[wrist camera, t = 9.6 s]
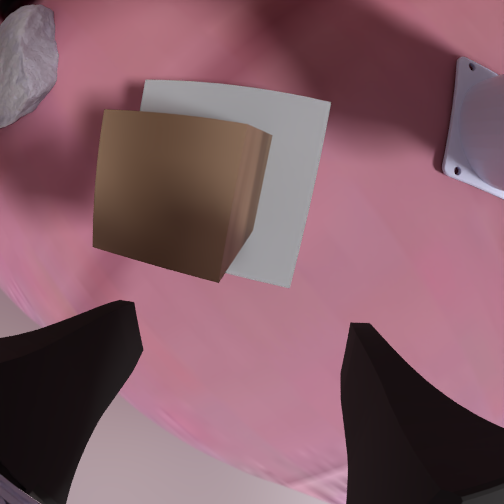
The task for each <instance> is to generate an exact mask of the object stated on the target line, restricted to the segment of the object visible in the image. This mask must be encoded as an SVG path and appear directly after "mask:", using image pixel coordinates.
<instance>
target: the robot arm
mask: <svg viewBox="0 0 504 504" xmlns="http://www.w3.org/2000/svg"><path fill="white" fill-rule="evenodd" d="M469 65H471V66H472V68H473V71H472V70H471V69H470V68H469ZM455 167H457V168H458V174H455V173H454V169H455ZM442 171H443V173H444V174H445V175H446V176H449V177H451V178H454V179H457V180H459V181H462V182H464V183H467V184H469V185H471V186H474V187H476V188H479V189H481V190H483V191H486V192H488V193H490V194H492V195H495V196H497V197H499V198H501V199H503V200H504V74H502V75H498V74H496V73H494V72H493V71H491V70H489V69H487V68H486V67H484V66H482V65H480V64H478V63H476V62H474V61H472V60H470V59H468V58H466V57H460V58H458V59H457V66H456V78H455V89H454V97H453V105H452V113H451V119H450V126H449V132H448V138H447V143H446V149H445V154H444V159H443V163H442ZM142 352H143V346H142V341H141V336H140V331H139V326H138V321H137V316H136V310H135V304H134V302H130V301H123V300H118V301H114V302H111V303H108V304H105V305H102V306H99V307H97V308H94V309H92V310H89V311H87V312H84V313H81V314H79V315H76V316H74V317H71V318H69V319H66V320H63V321H61V322H58V323H55V324H52V325H50V326H47V327H44V328H41V329H38V330H34V331H31V332H27V333H23V334H19V335H15V336H9V337H4V338H0V504H40V503H41V504H66V501H67V497H68V494H69V490H70V486H71V483H72V480H73V477H74V474H75V471H76V469H77V466H78V463H79V461H80V459H81V456H82V454H83V452H84V449H85V447H86V445H87V442H88V441H89V438H90V437H91V434H92V433H93V430H94V428H95V427H96V425H97V423H98V421H99V419H100V418H101V416H102V415H103V413H104V412H105V410H106V409H107V408H108V406H109V405H110V403H111V402H112V400H113V399H114V398H115V396H116V395H117V393H118V392H119V391H120V389H121V388H122V386H123V385H124V383H125V382H126V381H127V379H128V378H129V376H130V375H131V373H132V372H133V370H134V368H135V366H136V364H137V362H138V360H139V358H140V356H141V354H142ZM341 406H342V413H343V422H344V430H345V438H346V447H347V457H348V484H347V501H346V504H504V428H502V427H500V426H498V425H496V424H493V423H491V422H489V421H487V420H485V419H483V418H481V417H479V416H477V415H476V414H474V413H472V412H471V411H469V410H467V409H466V408H464V407H462V406H461V405H459V404H457V403H456V402H454V401H453V400H451V399H450V398H449V397H447V396H446V395H444V394H443V393H442V392H440V391H439V390H438V389H436V388H435V387H434V386H433V385H431V384H430V383H429V382H428V381H426V380H425V379H424V378H423V377H422V376H421V375H420V374H419V373H417V372H416V371H415V370H414V369H413V368H412V367H411V366H410V365H409V364H408V363H407V362H406V361H405V360H404V359H403V358H402V357H401V356H400V355H399V354H398V353H397V352H396V351H395V350H394V349H393V348H392V347H391V346H390V345H389V344H388V343H387V341H386V340H385V339H384V338H383V337H382V336H381V335H380V334H379V333H378V332H377V331H376V329H375V328H374V327H373V326H372V325H371V324H370V323H350V328H349V334H348V339H347V344H346V349H345V354H344V359H343V364H342V369H341ZM20 489H21V490H22V491H21V490H20ZM24 492H25V493H26V494H25V493H24ZM27 494H28V495H29V496H31V497H32V498H31V497H29V496H28V495H27ZM33 498H34V499H35V500H37V501H38V502H40V503H38V502H37V501H35V500H34V499H33Z"/></svg>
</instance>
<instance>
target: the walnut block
mask: <svg viewBox="0 0 504 504" xmlns="http://www.w3.org/2000/svg"><path fill="white" fill-rule="evenodd" d="M272 136H273V135H271V134H269V133H266V132H264V131H262V130H260V129H258V128H255V127H253V126H251V125H249V124H244V123H238V122H232V121H225V120H218V119H211V118H204V117H196V116H188V115H179V114H169V113H158V112H145V111H129V110H106V109H104V115H103V121H102V128H101V135H100V142H99V150H98V159H97V169H96V181H95V194H94V213H93V247H95V248H98V249H101V250H104V251H108V252H111V253H114V254H118V255H121V256H124V257H128V258H131V259H135V260H138V261H141V262H145V263H148V264H152V265H155V266H159V267H162V268H166V269H169V270H173V271H177V272H180V273H184V274H187V275H191V276H195V277H198V278H202V279H206V280H210V281H213V282H217V283H219V282H220V280H221V279H222V277H223V276H224V274H225V272H226V271H227V269H228V268H229V266H230V265H231V263H232V262H233V260H234V259H235V257H236V256H237V254H238V253H239V251H240V250H241V248H242V247H243V245H244V244H245V242H246V241H247V239H248V238H249V236H250V234H251V233H252V231H253V228H254V224H255V219H256V214H257V209H258V204H259V199H260V194H261V189H262V184H263V180H264V175H265V170H266V165H267V160H268V155H269V150H270V145H271V141H272Z"/></svg>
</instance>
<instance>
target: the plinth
mask: <svg viewBox="0 0 504 504" xmlns="http://www.w3.org/2000/svg"><path fill="white" fill-rule="evenodd" d="M330 106H331V102H328V101H323V100H319V99H314V98H309V97H305V96H300V95H294V94H289V93H284V92H278V91H272V90H265V89H259V88H252V87H244V86H236V85H227V84H218V83H206V82H193V81H175V80H146V81H145V86H144V91H143V96H142V102H141V107H140V111H145V112H158V113H169V114H179V115H188V116H196V117H204V118H211V119H218V120H225V121H232V122H238V123H244V124H249V125H251V126H253V127H255V128H258V129H260V130H262V131H264V132H266V133H269V134H271V135H273V136H272V141H271V145H270V150H269V155H268V160H267V165H266V170H265V175H264V180H263V184H262V189H261V194H260V199H259V204H258V209H257V214H256V219H255V224H254V228H253V231H252V233H251V234H250V236H249V238H248V239H247V241H246V242H245V244H244V245H243V247H242V248H241V250H240V251H239V253H238V254H237V256H236V257H235V259H234V260H233V262H232V263H231V265H230V266H229V268H228V269H227V271H226V272H225V273H227V274H231V275H236V276H240V277H244V278H248V279H252V280H256V281H261V282H265V283H269V284H273V285H277V286H282V287H286V288H290V285H291V281H292V277H293V273H294V269H295V265H296V261H297V257H298V253H299V249H300V245H301V241H302V236H303V232H304V228H305V224H306V219H307V215H308V211H309V206H310V202H311V198H312V193H313V189H314V184H315V180H316V175H317V170H318V166H319V161H320V156H321V151H322V147H323V142H324V137H325V132H326V127H327V122H328V116H329V111H330Z"/></svg>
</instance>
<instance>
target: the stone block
mask: <svg viewBox="0 0 504 504" xmlns="http://www.w3.org/2000/svg"><path fill="white" fill-rule="evenodd" d="M56 45H57V43H56V41H55V24H54V12H53V11H52V10H51V9H49V8H47V7H45V6H43V5H34V4H32V5H27V6H22V7H21V8H19V9H18V10H16V11H15V12H13V13H11V14H10V15H9V16H8V17H7V18H6V19H5V20H4V22H3V23H2V24H1V25H0V128H3V127H6V126H8V125H10V124H12V123H14V122H16V120H17V119H19V118H20V117H22V116H24V115H26V114H27V113H30V112H32V111H34V110H35V109H36V108H37V106H38V105H39V103H40V102H41V101H42V100H43V99H44V98H45V96H46V95H47V94H48V93H49V92H50V90H51V89H52V88H53V86H54V84H55V82H56V80H57V67H58V57H59V54H58V51H57V46H56Z"/></svg>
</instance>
